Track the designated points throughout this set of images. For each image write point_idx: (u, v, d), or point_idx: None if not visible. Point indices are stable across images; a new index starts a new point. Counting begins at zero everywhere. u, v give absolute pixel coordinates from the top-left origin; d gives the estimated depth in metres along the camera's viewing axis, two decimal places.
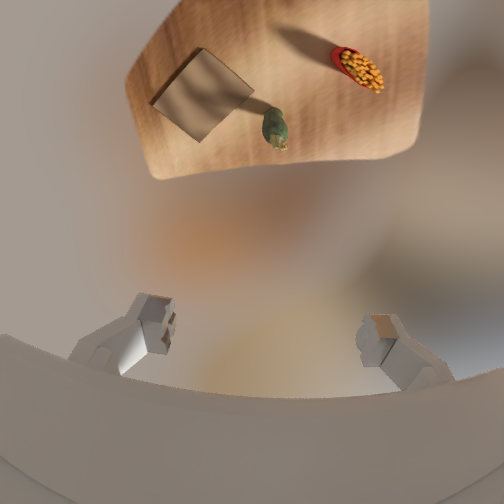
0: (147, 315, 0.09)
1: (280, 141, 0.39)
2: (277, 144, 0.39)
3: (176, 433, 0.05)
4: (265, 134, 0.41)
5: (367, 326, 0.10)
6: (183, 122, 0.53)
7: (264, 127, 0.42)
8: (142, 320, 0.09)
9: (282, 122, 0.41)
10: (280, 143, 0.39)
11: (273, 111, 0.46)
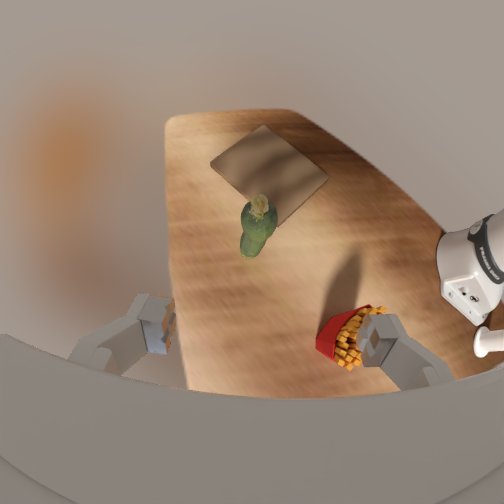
0: (147, 315, 0.09)
1: (265, 205, 0.27)
2: None
3: (176, 433, 0.05)
4: None
5: (367, 326, 0.10)
6: (239, 148, 0.48)
7: None
8: (142, 320, 0.09)
9: (275, 226, 0.31)
10: (265, 203, 0.26)
11: None
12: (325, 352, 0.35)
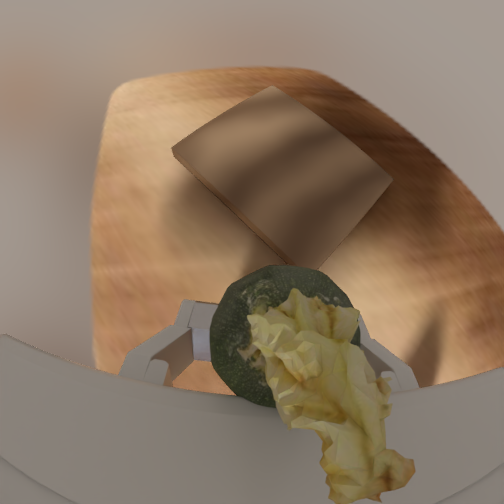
0: (198, 323, 0.09)
1: None
2: None
3: (176, 433, 0.05)
4: (294, 270, 0.07)
5: None
6: (228, 122, 0.25)
7: None
8: (193, 328, 0.09)
9: None
10: None
11: None
12: None
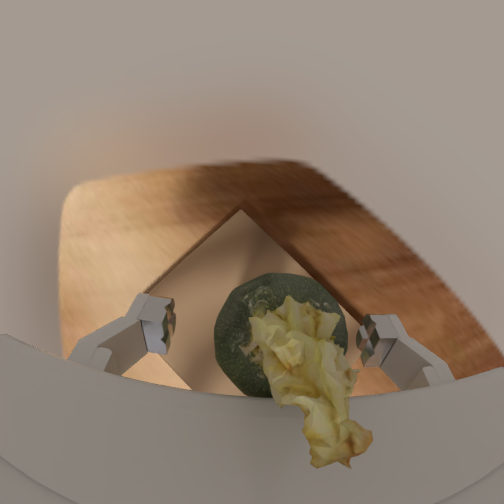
0: (147, 315, 0.09)
1: None
2: None
3: (176, 433, 0.05)
4: (290, 278, 0.08)
5: (367, 326, 0.10)
6: (184, 281, 0.23)
7: None
8: (142, 320, 0.09)
9: None
10: None
11: None
12: None
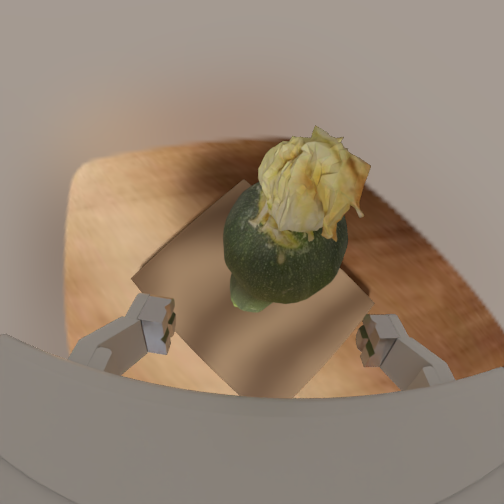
0: (147, 315, 0.09)
1: None
2: None
3: (176, 433, 0.05)
4: None
5: (367, 326, 0.10)
6: (189, 244, 0.23)
7: None
8: (142, 320, 0.09)
9: None
10: None
11: None
12: None
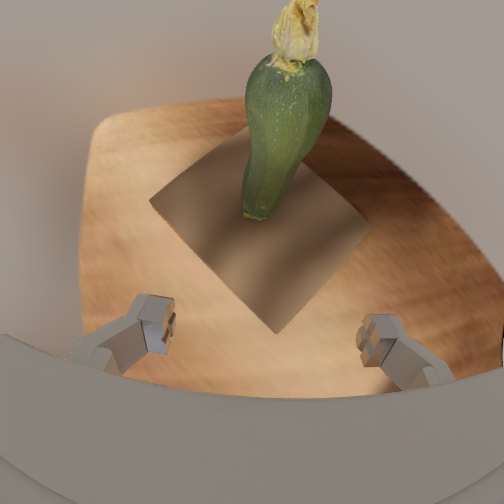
0: (147, 315, 0.09)
1: (314, 27, 0.07)
2: None
3: (176, 433, 0.05)
4: None
5: (367, 326, 0.10)
6: (204, 171, 0.26)
7: None
8: (142, 320, 0.09)
9: (327, 115, 0.12)
10: (313, 16, 0.07)
11: None
12: None
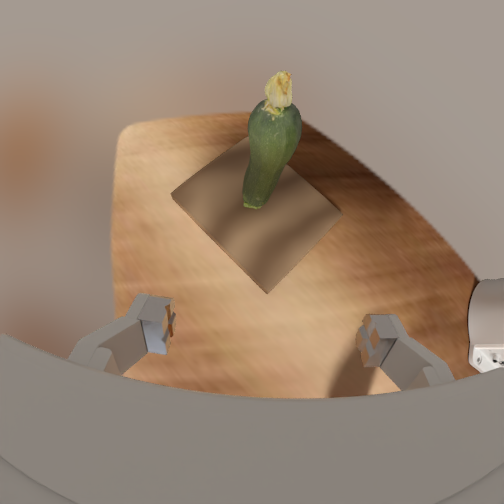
0: (147, 315, 0.09)
1: (289, 89, 0.15)
2: None
3: (176, 433, 0.05)
4: None
5: (367, 326, 0.10)
6: (213, 172, 0.34)
7: None
8: (142, 320, 0.09)
9: (298, 138, 0.20)
10: None
11: None
12: None
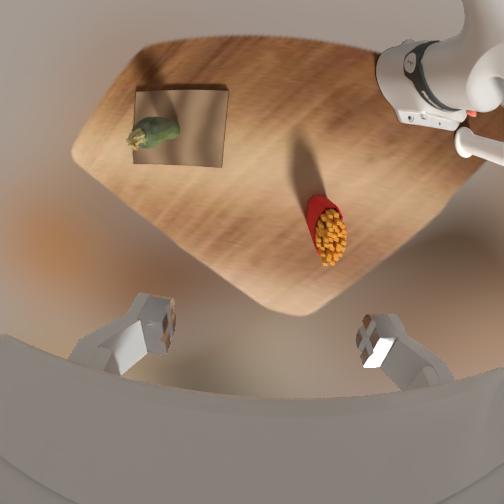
0: (147, 315, 0.09)
1: (138, 138, 0.27)
2: (132, 138, 0.27)
3: (176, 433, 0.05)
4: (135, 124, 0.29)
5: (367, 326, 0.10)
6: None
7: (143, 118, 0.30)
8: (142, 320, 0.09)
9: (162, 129, 0.31)
10: (135, 139, 0.27)
11: (170, 120, 0.36)
12: None
